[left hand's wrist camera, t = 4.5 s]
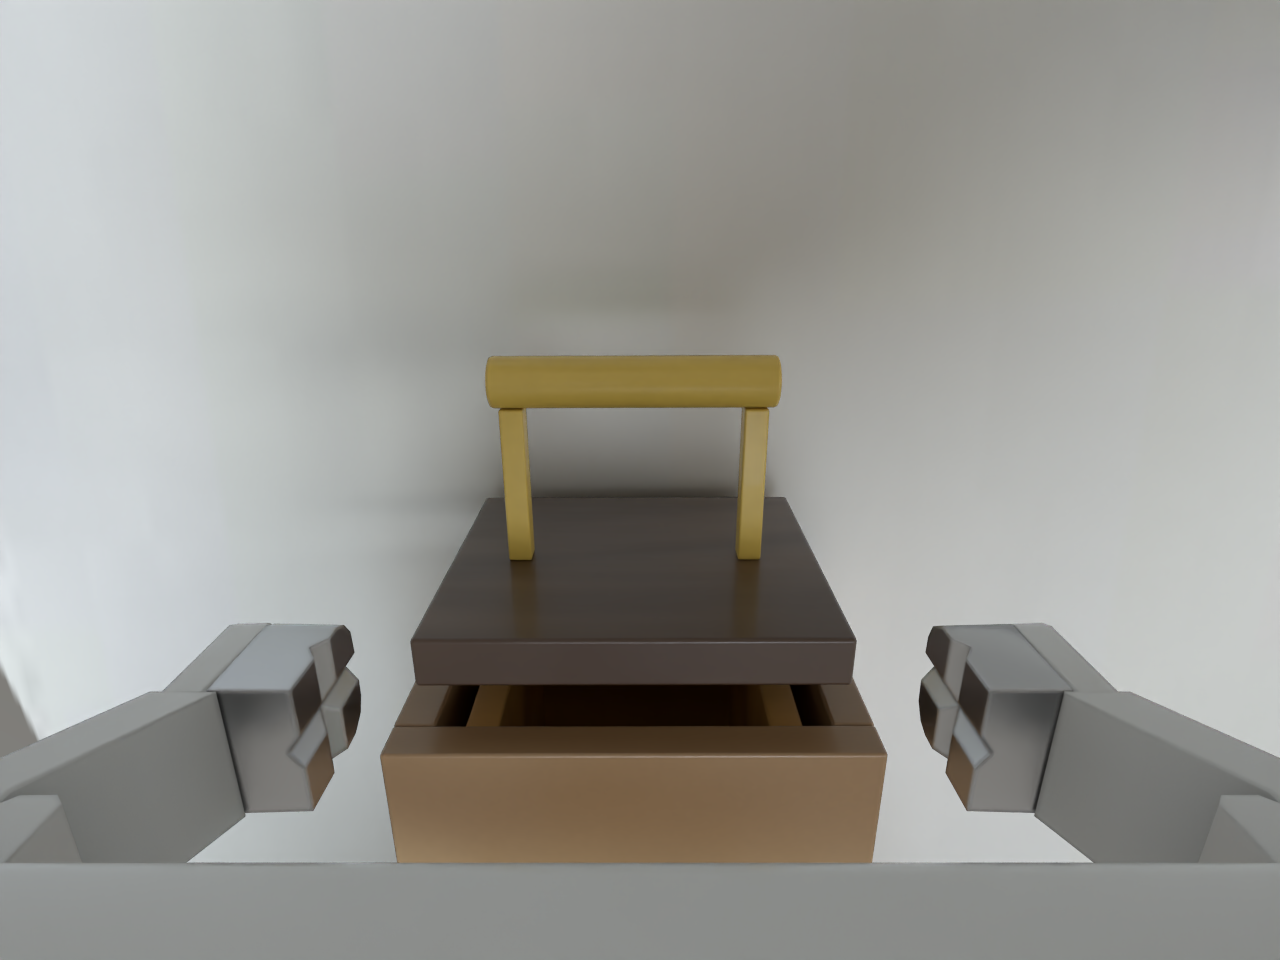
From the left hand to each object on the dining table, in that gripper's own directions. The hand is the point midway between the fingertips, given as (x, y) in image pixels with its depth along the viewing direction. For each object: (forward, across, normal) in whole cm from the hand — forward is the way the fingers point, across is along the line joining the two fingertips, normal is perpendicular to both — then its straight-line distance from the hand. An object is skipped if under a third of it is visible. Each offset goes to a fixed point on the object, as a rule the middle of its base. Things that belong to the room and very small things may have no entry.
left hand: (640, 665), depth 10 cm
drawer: (+13, 0, +9) cm, 16 cm away
